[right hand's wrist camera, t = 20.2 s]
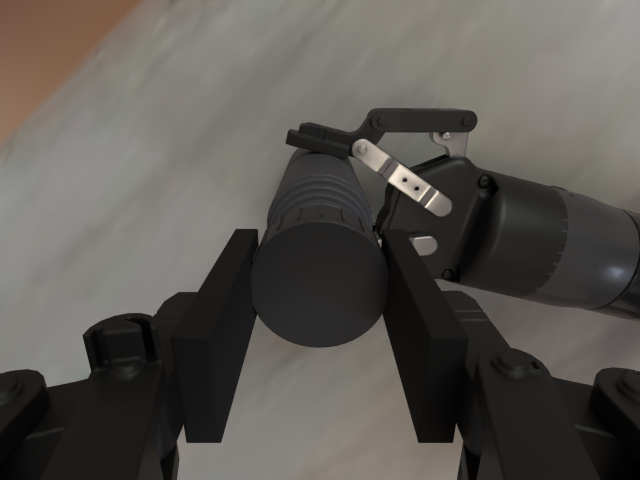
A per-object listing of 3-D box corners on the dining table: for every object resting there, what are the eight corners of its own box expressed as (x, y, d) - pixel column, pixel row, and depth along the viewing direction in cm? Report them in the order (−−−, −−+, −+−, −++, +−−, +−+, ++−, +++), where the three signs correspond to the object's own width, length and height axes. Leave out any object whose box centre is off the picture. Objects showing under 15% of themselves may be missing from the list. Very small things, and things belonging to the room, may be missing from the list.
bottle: (364, 170, 31) (423, 276, 13) (320, 213, 32) (320, 363, 14) (319, 125, 30) (318, 175, 12) (275, 172, 31) (216, 279, 13)
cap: (388, 312, 15) (396, 340, 13) (268, 326, 15) (262, 356, 14) (377, 195, 13) (385, 210, 12) (244, 213, 14) (233, 229, 12)
